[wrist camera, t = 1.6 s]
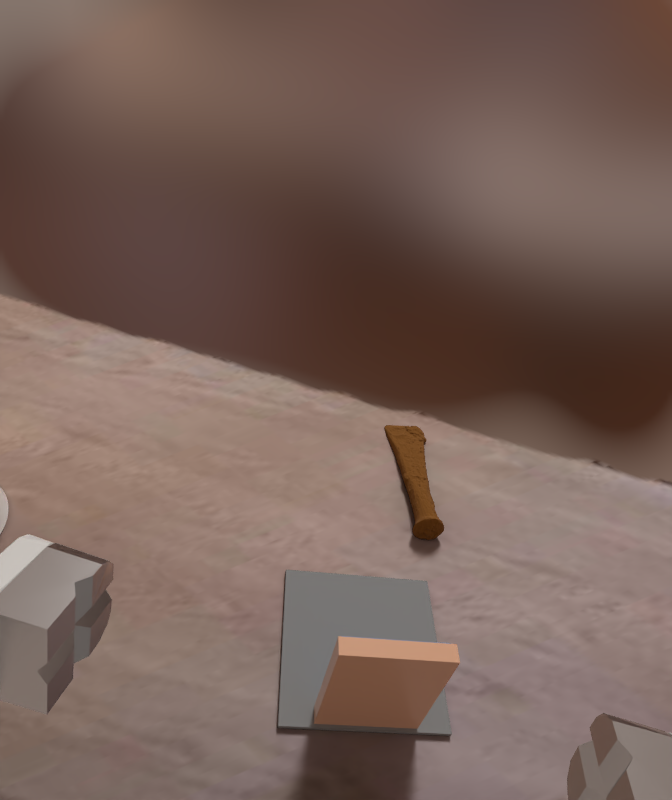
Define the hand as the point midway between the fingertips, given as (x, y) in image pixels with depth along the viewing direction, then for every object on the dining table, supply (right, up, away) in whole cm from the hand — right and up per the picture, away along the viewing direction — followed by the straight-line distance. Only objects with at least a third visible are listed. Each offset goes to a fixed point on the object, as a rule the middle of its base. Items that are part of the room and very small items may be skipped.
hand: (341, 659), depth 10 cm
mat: (+2, -19, +46) cm, 50 cm away
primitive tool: (+9, -6, +65) cm, 66 cm away
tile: (+2, -23, +41) cm, 47 cm away
